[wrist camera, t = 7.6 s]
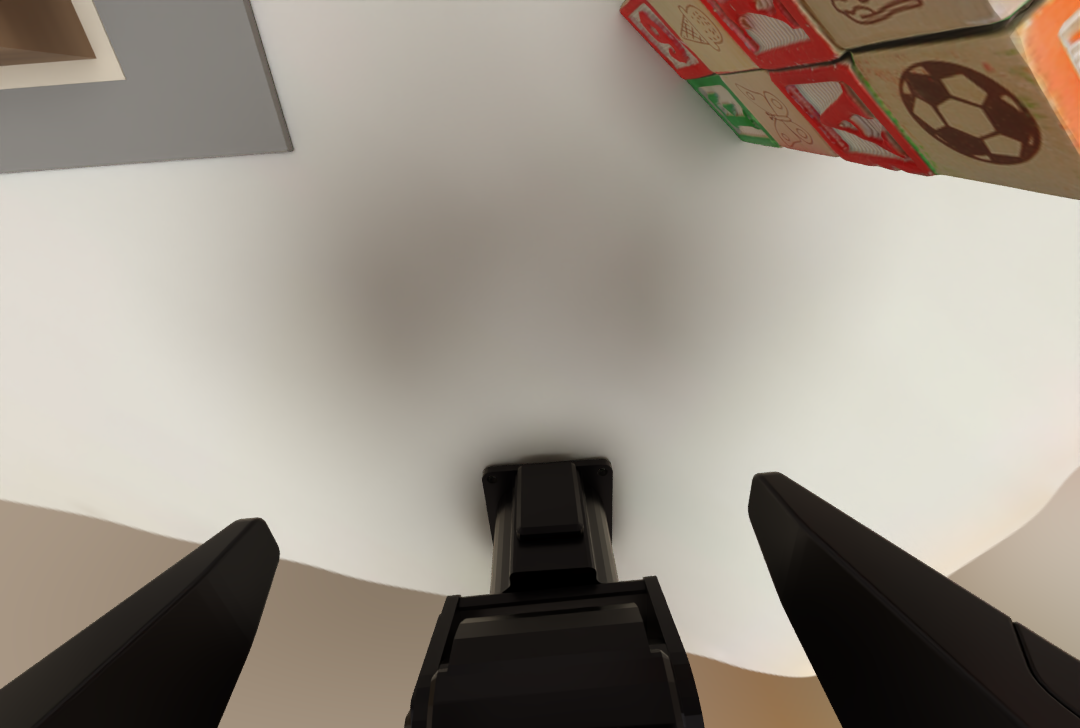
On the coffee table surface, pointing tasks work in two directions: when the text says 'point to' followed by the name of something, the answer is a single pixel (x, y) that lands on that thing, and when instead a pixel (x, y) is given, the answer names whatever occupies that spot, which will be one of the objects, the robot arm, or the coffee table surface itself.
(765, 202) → the coffee table surface
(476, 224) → the coffee table surface
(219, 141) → the mat
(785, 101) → the stack of blocks
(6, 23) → the walnut base
